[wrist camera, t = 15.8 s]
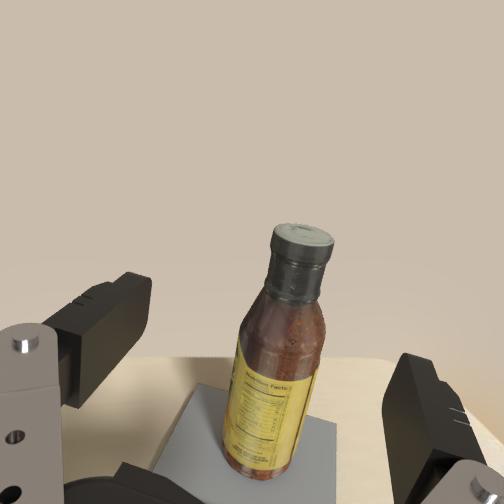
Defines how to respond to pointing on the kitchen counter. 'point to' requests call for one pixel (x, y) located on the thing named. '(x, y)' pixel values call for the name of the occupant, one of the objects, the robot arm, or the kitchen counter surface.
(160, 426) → the kitchen counter surface
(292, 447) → the sauce bottle
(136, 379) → the kitchen counter surface
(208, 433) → the grey mat
